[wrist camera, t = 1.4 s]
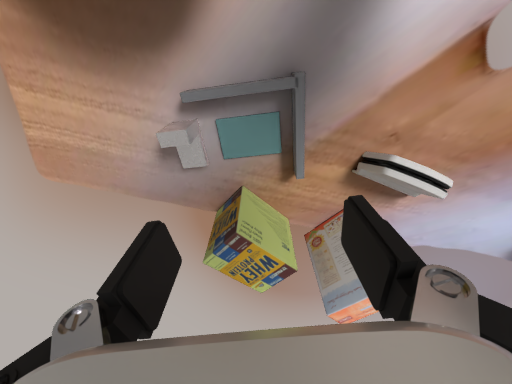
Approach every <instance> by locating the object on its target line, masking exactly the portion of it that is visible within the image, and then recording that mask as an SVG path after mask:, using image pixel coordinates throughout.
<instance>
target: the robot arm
mask: <svg viewBox="0 0 512 384" xmlns="http://www.w3.org/2000/svg"><path fill="white" fill-rule="evenodd" d="M341 244H342V247H343V249H344V251H345V253H346V255H347V257H348V259H349V261H350V263H351V265H352V266H353V268H354V270H355V272H356V274H357V276H358V278H359V280H360V282H361V284H362V286H363V288H364V290H365V292H366V294H367V296H368V298H369V300H370V302H371V304H372V306H373V308H374V309H375V310H376V311H378V310H379V312H380V314H381V316H382V318H383V319H385V318H393V319H394V320H395V321H379V322H363V323H362V322H361V323H345V324H331V325H318V326H307V327H293V328H281V329H268V330H256V331H245V332H233V333H221V334H209V335H198V336H187V337H176V338H165V339H153V340H143V341H137V339H149V338H151V336H152V333H153V330H155V329H156V328H157V326H158V324H159V321H160V319H161V316H162V314H163V311H164V308H165V306H166V303H167V300H168V298H169V295H170V292H171V290H172V287H173V284H174V282H175V279H176V276H177V274H178V271H179V268H180V266H181V262H182V259H181V256H180V254H179V252H178V250H177V248H176V246H175V244H174V242H173V240H172V238H171V236H170V234H169V232H168V229H167V227H166V225H165V224H164V223H162V222H161V221H151V222H147V223H146V224H145V226H144V227H143V229H142V230H141V232H140V233H139V234H138V236H137V237H136V238H135V240H134V241H133V243H132V244H131V246H130V247H129V248H128V250H127V251H126V253H125V254H124V256H123V257H122V258H121V260H120V261H119V262H118V264H117V265H116V267H115V268H114V269H113V271H112V273H111V274H110V275H109V277H108V278H107V280H106V281H105V282H104V284H103V285H102V286H101V288H100V289H99V291H98V292H97V295H98V296H99V297H98V298H97V300H94V299H87V300H84V301H81V302H79V303H77V304H75V305H74V306H72V307H71V308H70V309H69V310H67V311H66V312H65V313H64V314H63V315H62V316H61V317H60V318H59V320H58V321H57V322H56V324H55V326H54V328H53V331H52V336H51V337H49V338H48V339H46V340H45V341H43V342H42V343H40V344H39V345H37V346H36V347H34V348H33V349H31V350H30V351H29V352H27V353H26V354H24V355H23V356H21V357H20V358H19V359H17V360H15V361H14V362H12V363H11V364H9V365H8V366H6V367H5V368H3V369H2V370H0V384H512V308H510V307H507V306H505V305H503V304H500V303H498V302H496V301H493V300H491V299H488V298H486V297H484V296H481V295H479V294H478V293H477V290H476V288H475V286H474V285H473V284H472V282H471V281H470V280H469V279H467V278H466V277H465V276H464V275H462V274H461V273H459V272H457V271H456V270H453V269H451V268H449V267H445V266H441V265H426V264H425V263H424V262H423V261H422V260H421V258H420V257H419V256H418V255H417V254H416V253H415V252H414V251H413V249H412V248H411V247H410V246H409V245H408V244H407V243H406V242H405V240H404V239H403V238H402V237H401V236H400V235H399V234H398V233H397V231H396V230H395V229H394V228H393V227H392V226H391V225H390V224H389V222H387V221H386V220H384V219H382V217H381V216H380V215H379V214H378V213H377V212H376V211H375V209H374V208H373V207H372V206H371V205H370V204H369V203H368V201H367V200H366V199H365V198H364V197H363V196H362V195H357V196H349V197H348V200H345V201H344V210H343V221H342V232H341Z"/></svg>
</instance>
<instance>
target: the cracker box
mask: <svg viewBox="0 0 512 384" xmlns="http://www.w3.org/2000/svg"><path fill="white" fill-rule="evenodd" d="M342 221H343V210H342V211H341V212H339V213H337V214H336V215H334V216H333V217H331V218H330V219H328V220H327V221H325V222H324V223H322V224H321V225H319V226H318V227H316V228H315V229H313V230H312V231H310V232H309V233H307V234H305V235H304V236H305V240H306V243H307V247H308V251H309V254H310V258H311V261H312V265H313V268H314V272H315V275H316V279H317V282H318V286H319V289H320V293H321V296H322V300H323V303H324V307H325V311H326V314H327V316H328V317H330V318H332V319H333V320H335V321H336V322H338V323H340V324H345V323H351V322H354V321H356V320H359V319H361V318H364V317H366V316H369V315H371V314H374V313H376V312H378V311H379V310H378V311H376V310H375V309H374V308H373V306H372V304H371V302H370V300H369V298H368V296H367V294H366V292H365V290H364V288H363V286H362V284H361V282H360V280H359V278H358V276H357V274H356V272H355V270H354V268H353V266H352V265H351V263H350V261H349V259H348V257H347V255H346V253H345V251H344V249H343V247H342V244H341V232H342Z"/></svg>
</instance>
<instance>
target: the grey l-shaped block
mask: <svg viewBox="0 0 512 384" xmlns="http://www.w3.org/2000/svg"><path fill="white" fill-rule="evenodd" d="M156 136H157V138H158V141H159V143H160V146H161V148H166V147H174V146H176V148H177V151H178V154H179V157H180V160H181V163H182V166H183V169H185V168H194V167H204V166H207V165H208V163H209V161H208V157H207V153H206V149H205V145H204V142H203V138H202V134H201V130H200V126H199V123H198V119H193V120H185V121H177V122H172V123H170V124H169V125H167V126H166V127H164V128H163V129H161V130H160V131H158V132H157V133H156Z"/></svg>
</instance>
